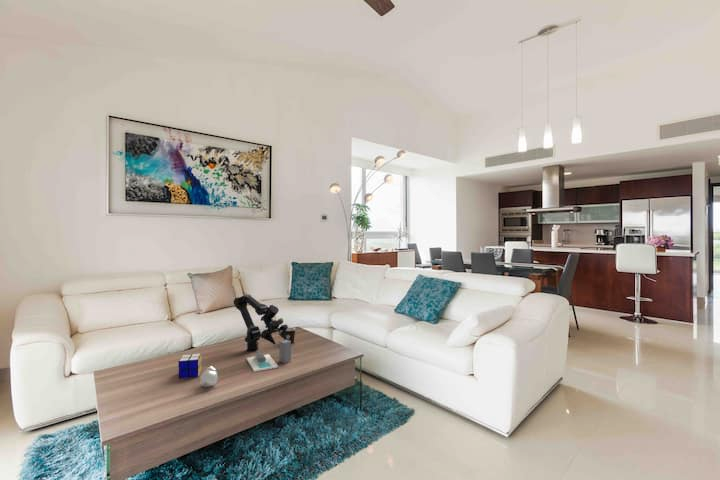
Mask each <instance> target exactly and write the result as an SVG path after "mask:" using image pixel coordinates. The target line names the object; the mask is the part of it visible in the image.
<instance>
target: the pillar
mask: <svg viewBox="0 0 720 480" xmlns="http://www.w3.org/2000/svg"><path fill="white" fill-rule="evenodd" d="M278 347H279V351H278V352H279V358H278V359H279V360H278V361H279V362H280V361H281V363H283V362H284V363H283V364H286V362H287V363H289V362H291V361H292V344H291V341H288V340H284V339H283V340H280V341H279V345H278ZM290 360H291V361H290ZM288 361H289V362H288Z"/></svg>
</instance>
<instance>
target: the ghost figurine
mask: <svg viewBox="0 0 720 480" xmlns="http://www.w3.org/2000/svg"><path fill="white" fill-rule="evenodd" d="M199 376H200V377H199V383H200V384H201V386H203V387H204V388H210V387H213V386H214V385H216V384H217V383H218V382H217V381H218V379H219V374H218V371H217V368H215V367H213V366H212V365H210V366H207V367H206V369H205V370H204V371H203V372H202V373H200V375H199Z"/></svg>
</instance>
